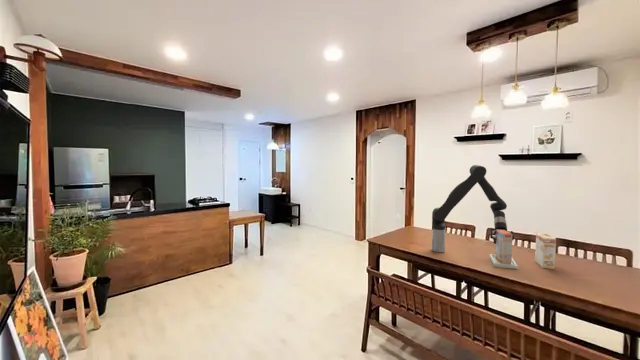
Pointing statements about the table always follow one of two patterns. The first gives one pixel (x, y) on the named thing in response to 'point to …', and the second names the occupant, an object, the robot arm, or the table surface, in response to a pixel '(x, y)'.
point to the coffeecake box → (545, 250)
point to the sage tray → (498, 264)
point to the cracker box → (503, 246)
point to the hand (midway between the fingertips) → (502, 244)
